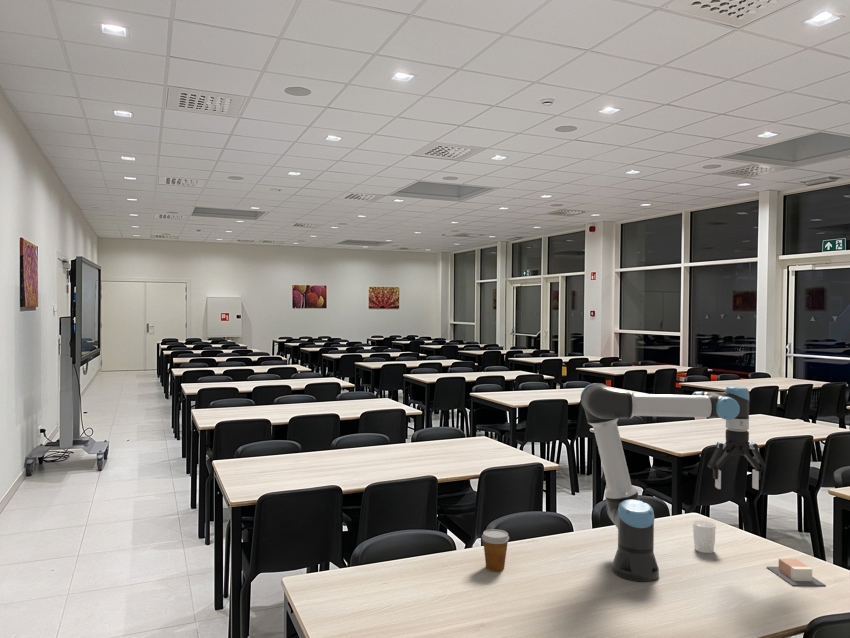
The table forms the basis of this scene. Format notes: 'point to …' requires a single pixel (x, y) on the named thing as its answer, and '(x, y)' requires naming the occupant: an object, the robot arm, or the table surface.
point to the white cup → (704, 536)
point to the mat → (795, 583)
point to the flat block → (795, 570)
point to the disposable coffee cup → (495, 548)
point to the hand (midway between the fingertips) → (736, 488)
